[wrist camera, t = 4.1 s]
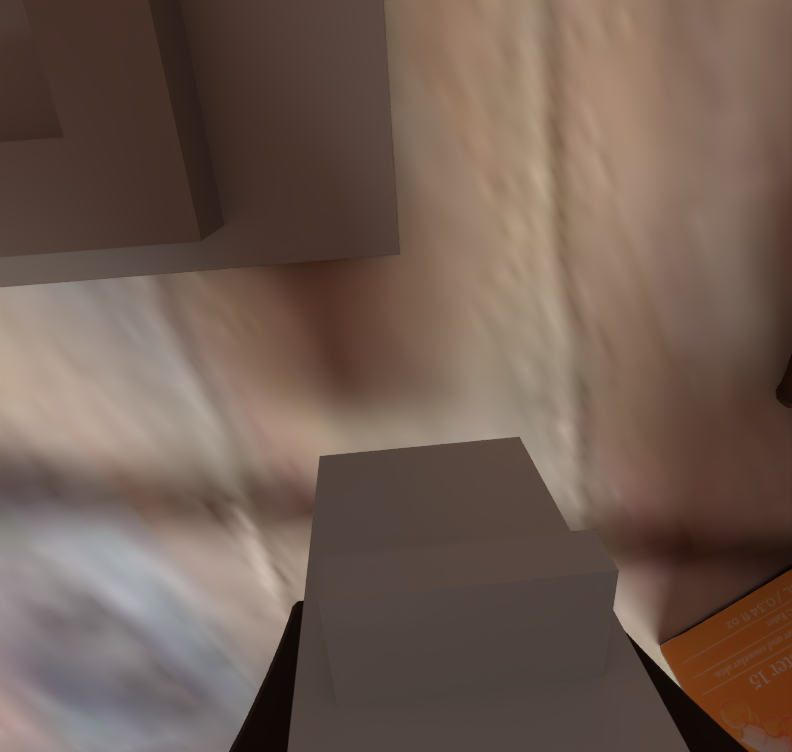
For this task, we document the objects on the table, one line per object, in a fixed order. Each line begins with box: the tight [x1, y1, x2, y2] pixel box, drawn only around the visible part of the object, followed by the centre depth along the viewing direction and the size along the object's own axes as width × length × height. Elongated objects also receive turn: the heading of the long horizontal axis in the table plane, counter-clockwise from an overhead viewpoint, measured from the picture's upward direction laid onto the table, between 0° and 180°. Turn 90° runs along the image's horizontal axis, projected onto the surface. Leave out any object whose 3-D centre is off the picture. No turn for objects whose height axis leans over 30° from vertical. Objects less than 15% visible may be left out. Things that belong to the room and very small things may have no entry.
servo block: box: [287, 437, 690, 752], centre depth 9 cm, size 4×9×6 cm, turn 4°
